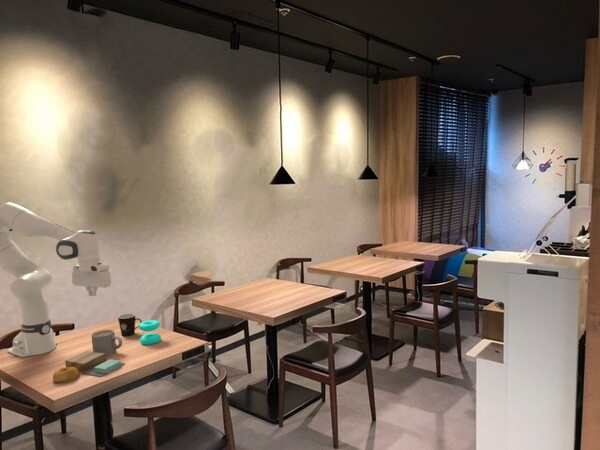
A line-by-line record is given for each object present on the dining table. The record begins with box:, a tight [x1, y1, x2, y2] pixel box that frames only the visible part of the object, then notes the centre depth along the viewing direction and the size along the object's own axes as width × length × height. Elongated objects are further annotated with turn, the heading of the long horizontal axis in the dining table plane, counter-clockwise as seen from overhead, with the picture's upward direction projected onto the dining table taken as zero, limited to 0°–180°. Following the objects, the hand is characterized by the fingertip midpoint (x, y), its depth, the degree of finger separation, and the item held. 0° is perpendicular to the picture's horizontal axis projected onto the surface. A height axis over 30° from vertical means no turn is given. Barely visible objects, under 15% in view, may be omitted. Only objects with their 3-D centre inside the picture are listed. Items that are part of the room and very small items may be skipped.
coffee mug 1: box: [91, 329, 123, 358], centre depth 222 cm, size 13×10×10 cm
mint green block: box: [94, 359, 122, 375], centre depth 204 cm, size 6×9×2 cm, turn 157°
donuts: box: [138, 319, 162, 346], centre depth 236 cm, size 10×10×10 cm
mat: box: [82, 362, 126, 378], centre depth 206 cm, size 10×14×1 cm
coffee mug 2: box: [117, 313, 143, 338], centre depth 248 cm, size 12×9×10 cm
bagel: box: [52, 367, 80, 384], centre depth 197 cm, size 10×11×5 cm
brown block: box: [64, 350, 107, 373], centre depth 209 cm, size 11×12×4 cm
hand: (92, 295), depth 216 cm, fingers closed
